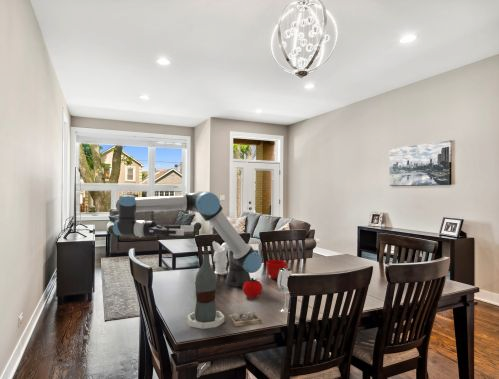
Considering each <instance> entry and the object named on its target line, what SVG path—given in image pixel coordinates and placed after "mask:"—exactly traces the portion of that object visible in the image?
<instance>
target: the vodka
mask: <svg viewBox="0 0 499 379" xmlns="http://www.w3.org/2000/svg"><path fill="white" fill-rule="evenodd" d="M202 253H203V254H202V265H201V266H200V268H199V269H198V271H197V272H196V275H195V281H194V282H195V283H194V285H195V297H196V298H195V299H196V300H195V301H196V303H195V310H194V311H195V317H196V321H197V322H202V323H205V322H213V321H215V318H216V311H217V307H216V306H217V304H216V290H217V276H216V275H217V274H215V271H214V269H213V268H212V266H211V265H210V251H209V250H203V252H202Z"/></svg>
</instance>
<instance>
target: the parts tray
mask: <svg viewBox="0 0 499 379" xmlns="http://www.w3.org/2000/svg"><path fill="white" fill-rule="evenodd" d="M251 312H252V313H253V314H254V316H253V318H252V319H249V318H248V320H246V321H242V319H241V318H242V316H243V315H247V313H248V312H243V313H238V314H239V315H240V319H239V320H237V321H236V320H234V318H233V316H234V314H235V313H233V314H228V317H227V318H228V321H230V323H231V324H232V325H233V326H234V327H241V326H249V325H255V324H262V318H260V316H259V315H258V314H257V313H255V312H254V311H251Z"/></svg>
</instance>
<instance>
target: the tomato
mask: <svg viewBox="0 0 499 379" xmlns="http://www.w3.org/2000/svg"><path fill="white" fill-rule="evenodd" d="M250 278H251V280H250V279H248V281H246V282H245V283H244V285H243V287H242V292H243V293H244V295H245V296H246V297H248V298H252V299H253V298H257V297H260V295H261V294H262V292H263V285H262V283H261V281H259V280H258V278H256V279H254V277H250Z"/></svg>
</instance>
